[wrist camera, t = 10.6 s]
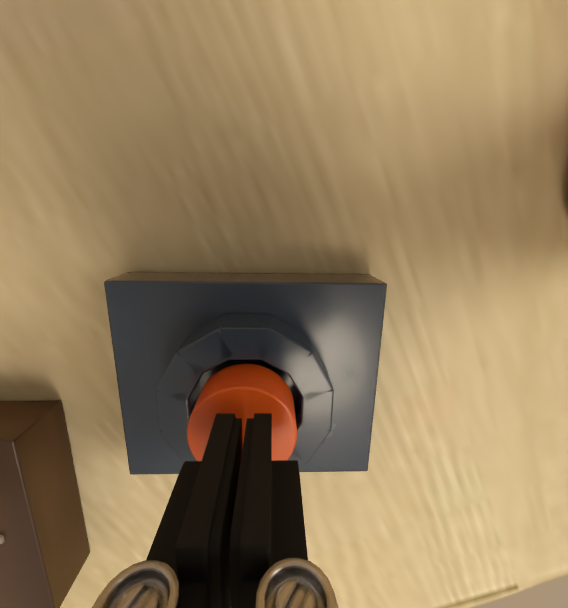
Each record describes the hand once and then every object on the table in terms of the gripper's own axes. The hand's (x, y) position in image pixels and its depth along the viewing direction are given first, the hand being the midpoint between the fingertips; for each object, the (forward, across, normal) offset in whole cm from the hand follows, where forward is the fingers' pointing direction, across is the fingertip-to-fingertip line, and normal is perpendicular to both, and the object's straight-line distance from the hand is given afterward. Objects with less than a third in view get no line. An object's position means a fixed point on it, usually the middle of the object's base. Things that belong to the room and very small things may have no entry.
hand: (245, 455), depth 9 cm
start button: (+2, 0, 0) cm, 3 cm away
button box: (+6, 0, 0) cm, 6 cm away
